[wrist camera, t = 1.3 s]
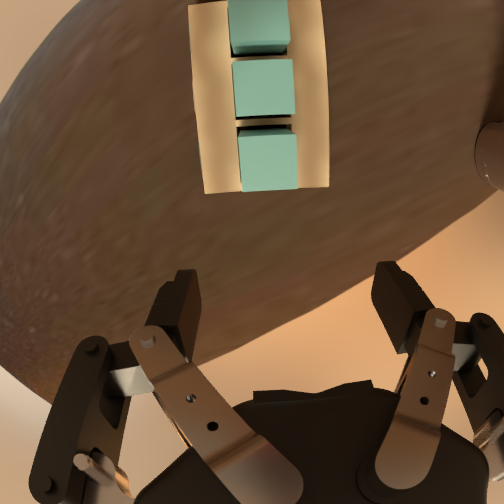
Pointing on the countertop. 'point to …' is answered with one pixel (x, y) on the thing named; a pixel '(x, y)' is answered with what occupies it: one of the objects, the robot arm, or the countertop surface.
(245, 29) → the button
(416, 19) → the countertop surface
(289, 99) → the button middle
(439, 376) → the robot arm
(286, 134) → the button
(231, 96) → the button board
